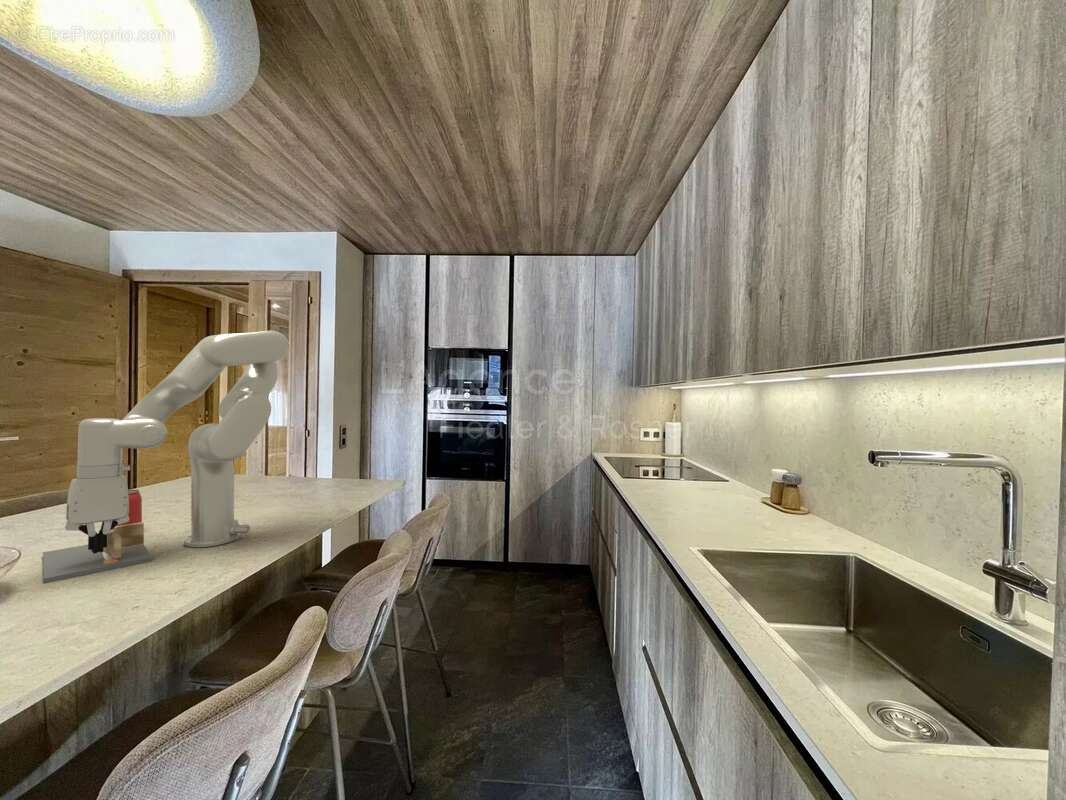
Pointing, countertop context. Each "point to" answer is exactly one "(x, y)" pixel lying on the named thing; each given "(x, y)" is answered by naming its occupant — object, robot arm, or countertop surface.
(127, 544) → the bar
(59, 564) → the card
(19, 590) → the countertop surface
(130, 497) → the beer can
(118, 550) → the fence gate
